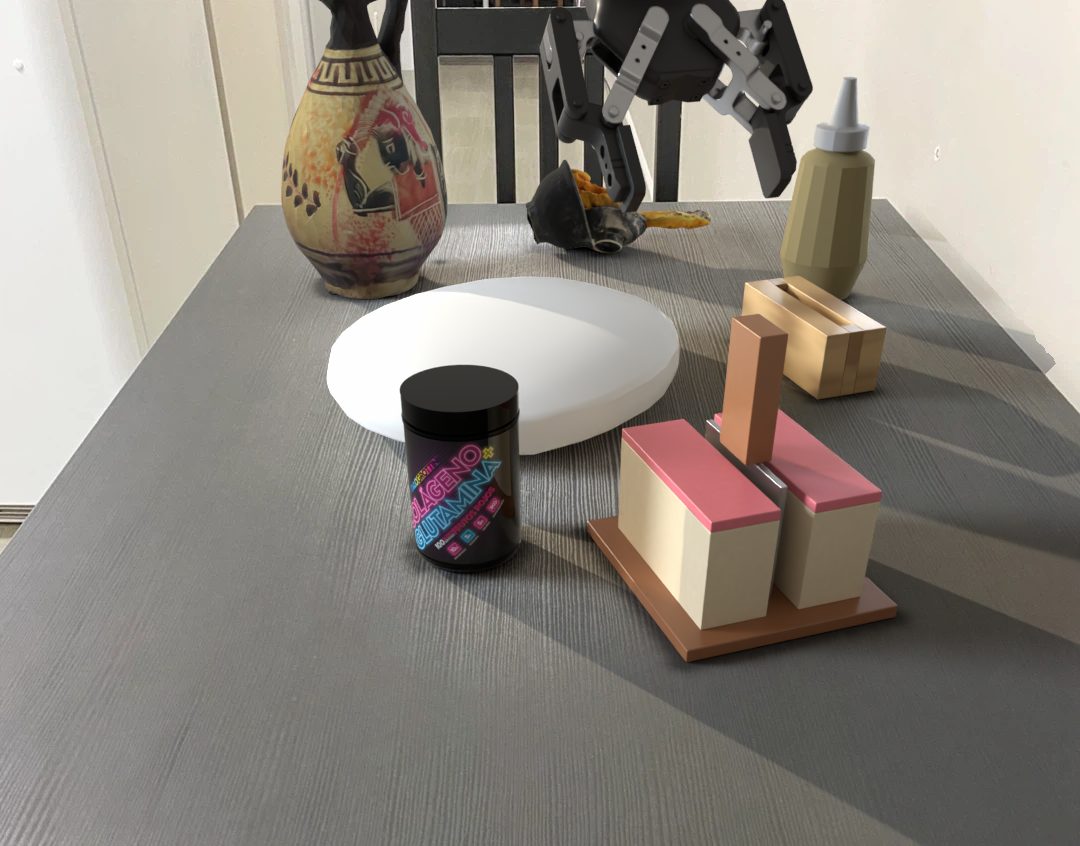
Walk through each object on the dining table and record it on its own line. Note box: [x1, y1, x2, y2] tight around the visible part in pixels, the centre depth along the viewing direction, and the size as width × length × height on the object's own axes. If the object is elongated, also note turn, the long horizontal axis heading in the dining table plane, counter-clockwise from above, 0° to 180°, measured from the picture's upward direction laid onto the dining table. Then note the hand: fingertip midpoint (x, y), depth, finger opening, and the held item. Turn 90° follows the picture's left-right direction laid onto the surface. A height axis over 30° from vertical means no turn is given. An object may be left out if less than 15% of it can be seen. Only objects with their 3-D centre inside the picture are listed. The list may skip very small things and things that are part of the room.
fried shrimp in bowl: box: [525, 159, 712, 254], centre depth 113 cm, size 9×11×18 cm
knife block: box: [741, 276, 888, 400], centre depth 89 cm, size 13×5×5 cm, turn 19°
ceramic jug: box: [280, 0, 449, 300], centre depth 98 cm, size 17×15×30 cm
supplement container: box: [400, 365, 522, 574], centre depth 64 cm, size 7×7×10 cm
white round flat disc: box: [326, 275, 681, 456], centre depth 84 cm, size 28×6×27 cm
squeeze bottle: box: [779, 76, 876, 301], centre depth 98 cm, size 8×8×18 cm
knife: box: [704, 314, 788, 599], centre depth 60 cm, size 9×2×14 cm, turn 19°
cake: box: [586, 408, 899, 663], centre depth 63 cm, size 15×13×7 cm
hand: (708, 196), depth 58 cm, fingers open, 8 cm apart
